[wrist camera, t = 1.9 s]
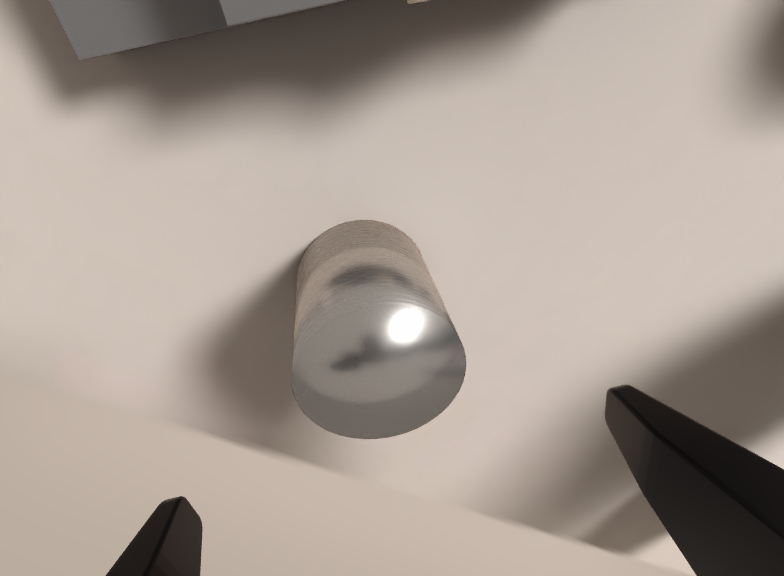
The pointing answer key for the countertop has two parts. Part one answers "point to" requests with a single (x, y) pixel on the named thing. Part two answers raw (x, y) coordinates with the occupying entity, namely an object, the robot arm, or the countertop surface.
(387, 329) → the cylinder
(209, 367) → the countertop surface
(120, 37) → the scale
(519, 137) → the countertop surface
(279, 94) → the countertop surface
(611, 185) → the countertop surface
